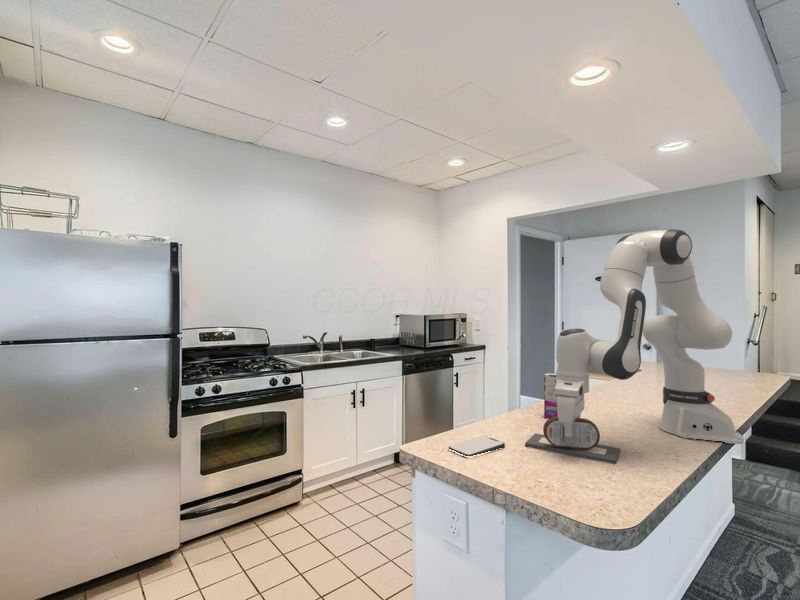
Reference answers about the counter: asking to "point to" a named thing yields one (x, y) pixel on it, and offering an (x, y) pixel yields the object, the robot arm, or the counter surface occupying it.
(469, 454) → the phone case
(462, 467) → the counter surface
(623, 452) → the counter surface
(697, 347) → the robot arm
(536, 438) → the dark gray picture frame
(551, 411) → the candy bar box
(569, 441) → the tin
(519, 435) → the counter surface
